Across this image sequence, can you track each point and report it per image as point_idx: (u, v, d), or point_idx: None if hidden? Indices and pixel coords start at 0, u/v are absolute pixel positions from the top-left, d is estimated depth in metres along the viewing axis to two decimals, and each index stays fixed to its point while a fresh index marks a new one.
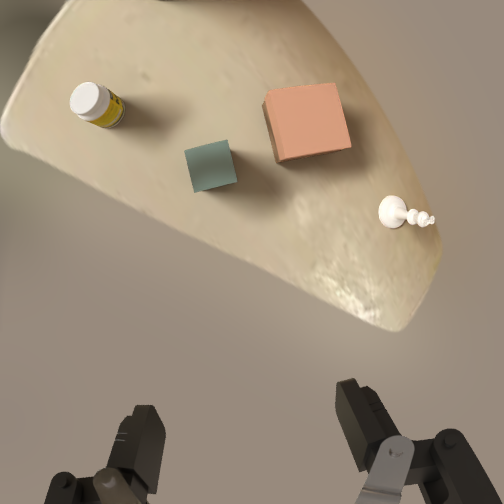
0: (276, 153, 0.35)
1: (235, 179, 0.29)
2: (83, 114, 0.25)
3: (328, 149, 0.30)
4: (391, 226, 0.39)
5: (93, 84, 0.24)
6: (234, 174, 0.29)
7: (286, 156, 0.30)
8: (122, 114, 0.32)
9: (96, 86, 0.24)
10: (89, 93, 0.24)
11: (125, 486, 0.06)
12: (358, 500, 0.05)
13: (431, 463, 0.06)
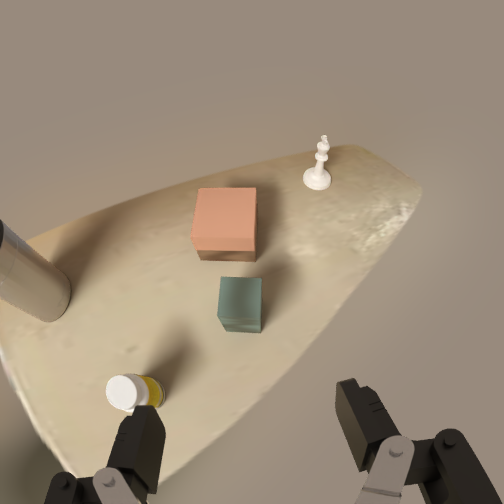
0: (247, 255, 0.40)
1: (259, 279, 0.32)
2: (137, 400, 0.26)
3: (254, 204, 0.38)
4: (329, 181, 0.47)
5: (113, 378, 0.27)
6: (254, 279, 0.32)
7: (252, 237, 0.36)
8: (157, 381, 0.34)
9: (117, 376, 0.27)
10: (120, 385, 0.26)
11: (125, 486, 0.06)
12: (358, 500, 0.05)
13: (431, 463, 0.06)
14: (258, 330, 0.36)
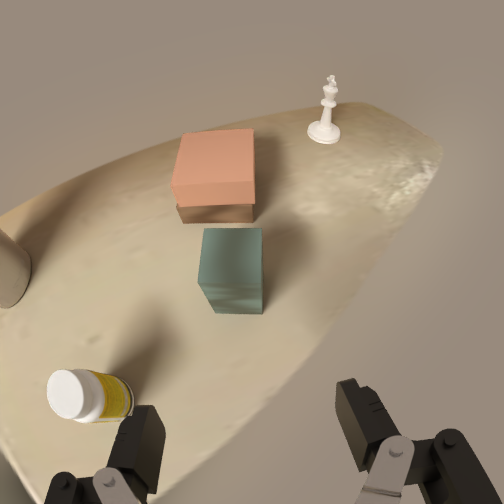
0: (241, 213, 0.31)
1: (258, 229, 0.22)
2: (85, 406, 0.16)
3: (252, 145, 0.29)
4: (338, 134, 0.38)
5: (55, 373, 0.17)
6: (251, 229, 0.22)
7: (251, 180, 0.27)
8: (123, 381, 0.24)
9: (59, 370, 0.17)
10: (63, 383, 0.17)
11: (125, 486, 0.06)
12: (358, 500, 0.05)
13: (431, 463, 0.06)
14: (259, 309, 0.26)
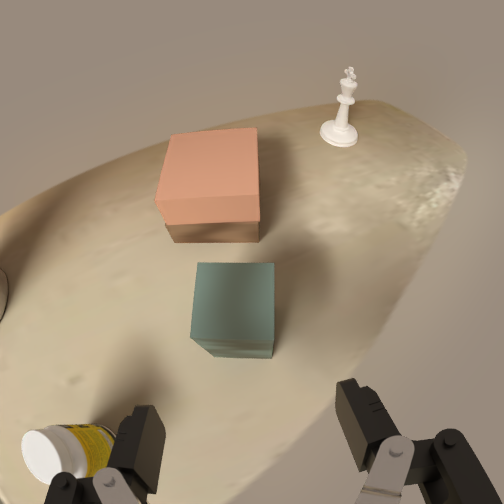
0: (245, 232, 0.25)
1: (269, 265, 0.17)
2: None
3: (255, 148, 0.23)
4: (355, 135, 0.32)
5: (28, 433, 0.11)
6: (260, 264, 0.17)
7: (256, 193, 0.21)
8: (109, 432, 0.18)
9: (32, 431, 0.11)
10: (38, 446, 0.11)
11: (125, 486, 0.06)
12: (358, 500, 0.05)
13: (431, 463, 0.06)
14: (268, 355, 0.21)
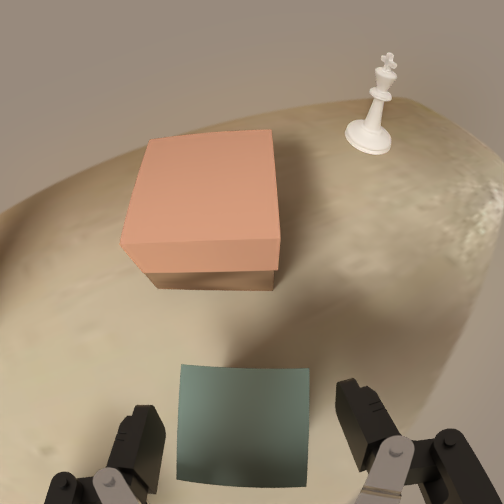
0: (254, 279, 0.18)
1: (301, 372, 0.09)
2: None
3: (272, 161, 0.16)
4: (389, 140, 0.25)
5: None
6: (286, 372, 0.09)
7: (276, 236, 0.13)
8: None
9: None
10: None
11: (125, 486, 0.06)
12: (358, 500, 0.05)
13: (431, 463, 0.06)
14: None
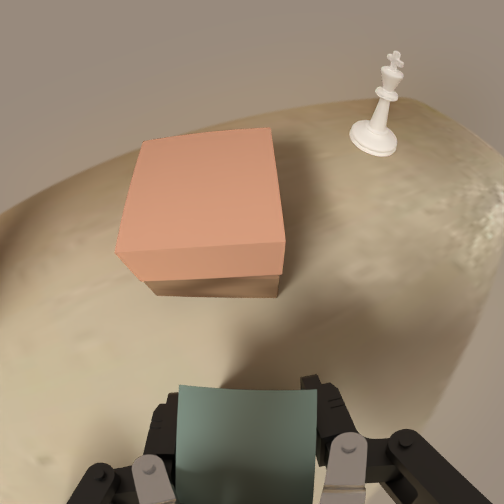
0: (258, 287, 0.17)
1: (308, 394, 0.08)
2: None
3: (272, 160, 0.15)
4: (395, 141, 0.24)
5: None
6: (292, 394, 0.08)
7: (281, 239, 0.13)
8: None
9: None
10: None
11: (167, 472, 0.07)
12: (322, 500, 0.05)
13: (386, 463, 0.07)
14: None
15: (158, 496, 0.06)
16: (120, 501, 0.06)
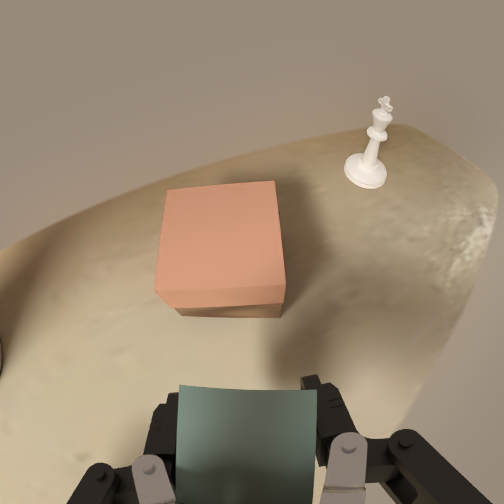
0: (265, 311, 0.21)
1: (308, 394, 0.08)
2: None
3: (276, 213, 0.19)
4: (385, 174, 0.28)
5: None
6: (292, 394, 0.08)
7: (282, 282, 0.17)
8: None
9: None
10: None
11: (167, 472, 0.07)
12: (322, 500, 0.05)
13: (386, 463, 0.07)
14: None
15: (158, 496, 0.06)
16: (120, 501, 0.06)
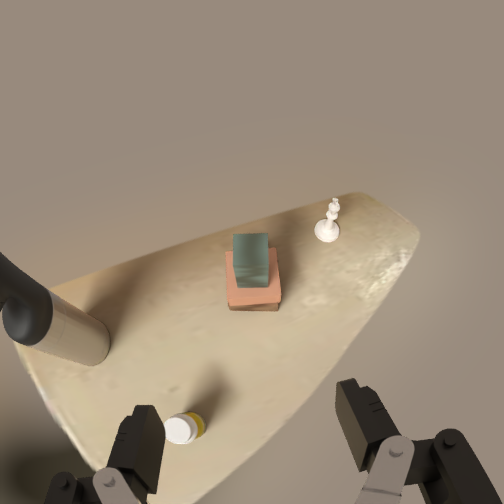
0: (270, 308, 0.47)
1: (265, 234, 0.39)
2: (190, 435, 0.32)
3: (276, 264, 0.45)
4: (337, 233, 0.54)
5: (169, 420, 0.33)
6: (261, 234, 0.39)
7: (279, 294, 0.43)
8: (199, 415, 0.40)
9: (172, 418, 0.33)
10: (175, 425, 0.33)
11: (125, 486, 0.06)
12: (358, 500, 0.05)
13: (431, 463, 0.06)
14: (266, 283, 0.42)
15: None
16: None
